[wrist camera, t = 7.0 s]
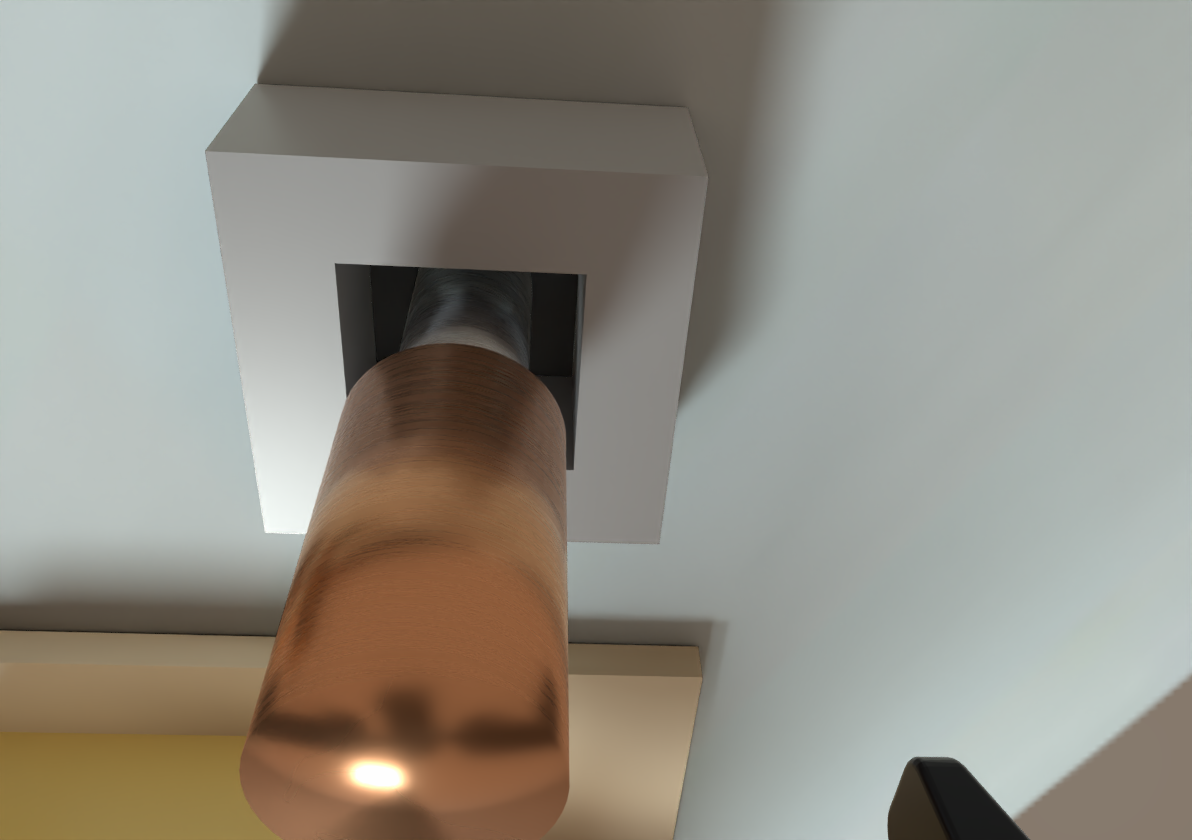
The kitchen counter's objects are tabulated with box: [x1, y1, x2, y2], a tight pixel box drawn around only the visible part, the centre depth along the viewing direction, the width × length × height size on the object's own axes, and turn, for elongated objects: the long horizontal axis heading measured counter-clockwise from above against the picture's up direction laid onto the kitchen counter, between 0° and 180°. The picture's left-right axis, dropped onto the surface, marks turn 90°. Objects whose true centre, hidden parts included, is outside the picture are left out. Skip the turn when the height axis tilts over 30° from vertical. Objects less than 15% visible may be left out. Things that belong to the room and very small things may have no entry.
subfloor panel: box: [0, 630, 703, 840], centre depth 23 cm, size 10×15×1 cm, turn 86°
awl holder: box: [205, 84, 709, 544], centre depth 15 cm, size 6×6×2 cm
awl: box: [239, 267, 570, 840], centre depth 13 cm, size 3×3×9 cm
